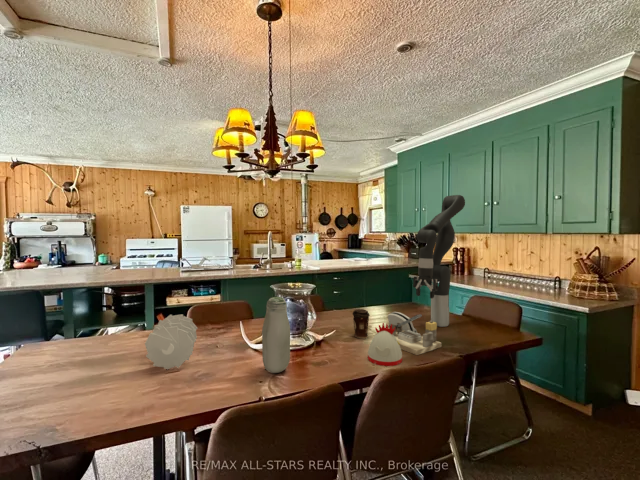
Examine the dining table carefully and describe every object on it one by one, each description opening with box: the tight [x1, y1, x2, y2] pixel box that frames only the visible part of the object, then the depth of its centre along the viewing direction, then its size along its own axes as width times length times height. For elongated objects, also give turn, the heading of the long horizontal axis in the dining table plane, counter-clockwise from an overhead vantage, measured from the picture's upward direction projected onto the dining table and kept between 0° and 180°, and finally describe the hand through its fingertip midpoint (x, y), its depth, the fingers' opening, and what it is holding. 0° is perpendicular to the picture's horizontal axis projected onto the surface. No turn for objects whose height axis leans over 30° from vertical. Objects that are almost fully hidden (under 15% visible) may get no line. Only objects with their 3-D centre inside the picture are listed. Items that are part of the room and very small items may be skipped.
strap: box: [396, 313, 423, 329], centre depth 152 cm, size 3×17×1 cm
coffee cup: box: [352, 308, 370, 339], centre depth 162 cm, size 9×8×13 cm
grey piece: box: [387, 311, 418, 333], centre depth 174 cm, size 17×5×10 cm, turn 27°
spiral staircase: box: [144, 314, 199, 370], centre depth 132 cm, size 18×18×25 cm
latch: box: [425, 320, 438, 331], centre depth 149 cm, size 4×3×4 cm
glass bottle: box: [261, 296, 291, 374], centre depth 121 cm, size 10×10×28 cm
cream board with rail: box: [392, 322, 442, 356], centre depth 151 cm, size 17×22×8 cm
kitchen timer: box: [367, 322, 403, 367], centre depth 133 cm, size 14×14×15 cm
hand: (424, 297), depth 174 cm, fingers open, 8 cm apart
